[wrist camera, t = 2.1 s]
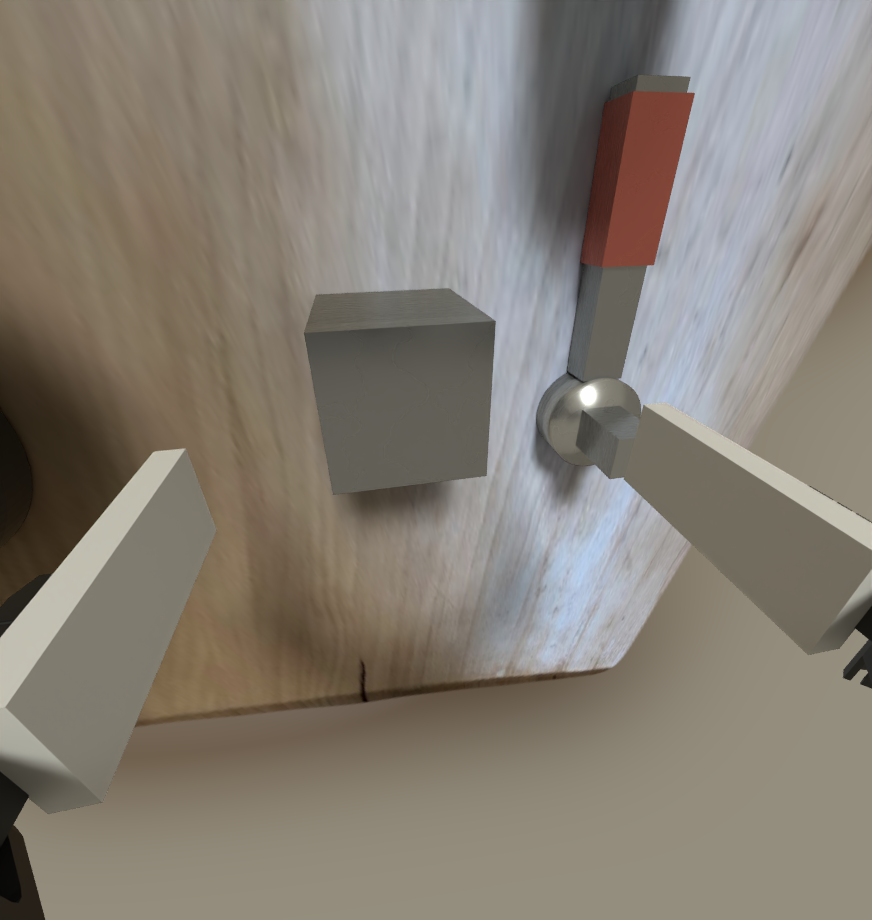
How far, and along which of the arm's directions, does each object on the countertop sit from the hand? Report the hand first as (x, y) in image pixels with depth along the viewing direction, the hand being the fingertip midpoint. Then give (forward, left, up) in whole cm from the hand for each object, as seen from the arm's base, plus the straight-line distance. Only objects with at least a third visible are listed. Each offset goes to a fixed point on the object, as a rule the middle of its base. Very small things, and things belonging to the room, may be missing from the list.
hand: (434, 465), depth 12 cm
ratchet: (+11, +2, -10) cm, 15 cm away
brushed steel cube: (0, 0, -10) cm, 10 cm away
